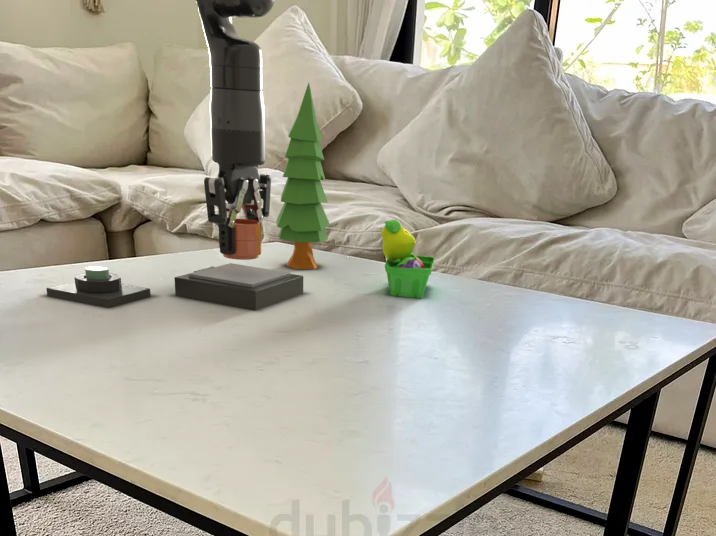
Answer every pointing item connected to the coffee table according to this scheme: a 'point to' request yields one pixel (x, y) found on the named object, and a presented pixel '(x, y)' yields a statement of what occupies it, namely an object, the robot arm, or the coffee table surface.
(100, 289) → the dark grey button base
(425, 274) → the fruit basket
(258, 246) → the terracotta cup
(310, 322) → the coffee table surface
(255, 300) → the scale
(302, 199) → the decorative tree
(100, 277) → the button
